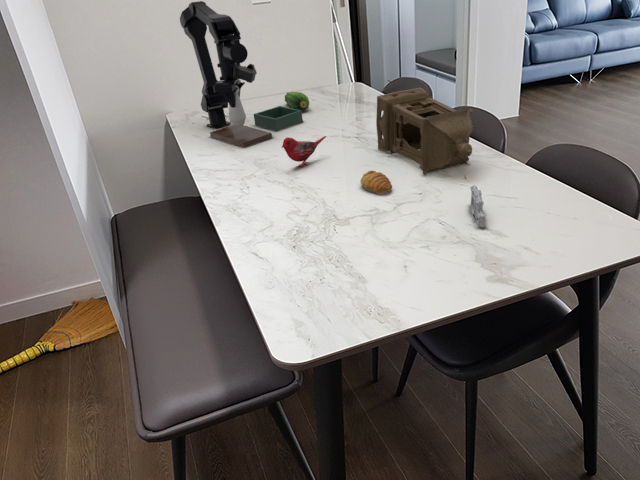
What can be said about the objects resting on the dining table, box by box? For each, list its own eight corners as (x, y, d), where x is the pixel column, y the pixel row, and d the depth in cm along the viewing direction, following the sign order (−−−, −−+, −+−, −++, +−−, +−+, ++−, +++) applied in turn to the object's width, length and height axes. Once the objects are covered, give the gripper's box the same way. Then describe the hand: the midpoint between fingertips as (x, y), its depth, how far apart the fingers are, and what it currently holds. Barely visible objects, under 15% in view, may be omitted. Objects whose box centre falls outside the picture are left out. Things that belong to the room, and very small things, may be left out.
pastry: (398, 191, 139) (398, 177, 137) (377, 198, 137) (376, 184, 135) (378, 180, 146) (378, 167, 144) (357, 186, 144) (356, 173, 142)
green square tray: (255, 125, 199) (253, 114, 196) (281, 117, 206) (279, 105, 204) (276, 131, 191) (274, 119, 189) (302, 122, 198) (301, 110, 196)
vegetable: (296, 92, 203) (283, 82, 219) (290, 110, 205) (277, 99, 222) (314, 98, 207) (299, 88, 223) (307, 116, 209) (294, 105, 225)
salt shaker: (231, 122, 187) (224, 84, 180) (247, 121, 188) (241, 83, 181) (229, 127, 182) (222, 88, 176) (246, 126, 183) (239, 87, 176)
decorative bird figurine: (281, 172, 156) (277, 139, 151) (324, 154, 167) (321, 122, 162) (288, 174, 154) (283, 140, 149) (331, 156, 165) (328, 124, 160)
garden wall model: (485, 228, 119) (487, 204, 116) (477, 228, 119) (478, 204, 116) (476, 205, 129) (477, 182, 126) (468, 205, 129) (470, 182, 126)
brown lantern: (489, 182, 146) (502, 115, 138) (435, 189, 139) (446, 118, 130) (419, 145, 173) (427, 86, 164) (371, 149, 166) (377, 88, 157)
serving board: (210, 137, 190) (209, 132, 189) (238, 128, 197) (237, 123, 196) (244, 147, 177) (243, 142, 177) (272, 138, 185) (271, 132, 184)
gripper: (242, 64, 165) (250, 114, 173) (259, 52, 180) (265, 99, 188) (208, 65, 166) (217, 115, 174) (227, 53, 182) (235, 100, 190)
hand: (235, 107), depth 182 cm, fingers closed on salt shaker, 3 cm apart
